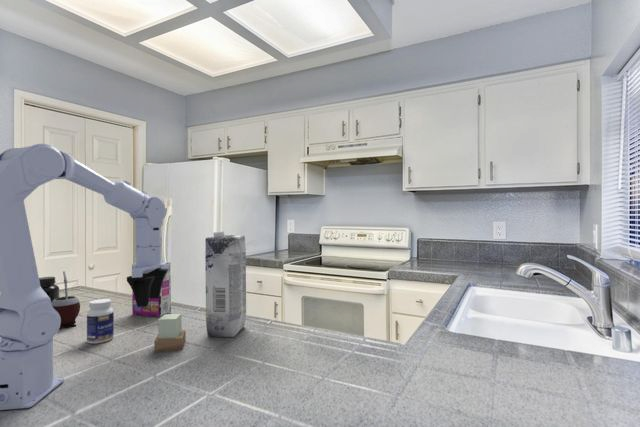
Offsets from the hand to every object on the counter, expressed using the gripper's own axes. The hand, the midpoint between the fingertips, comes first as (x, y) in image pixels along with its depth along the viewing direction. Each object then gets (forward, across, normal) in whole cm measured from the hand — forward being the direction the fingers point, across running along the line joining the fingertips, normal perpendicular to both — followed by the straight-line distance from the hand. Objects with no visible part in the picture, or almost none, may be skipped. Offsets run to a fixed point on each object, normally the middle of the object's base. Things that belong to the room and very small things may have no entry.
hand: (148, 302), depth 83 cm
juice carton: (+10, +6, -18) cm, 22 cm away
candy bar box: (+10, +27, +9) cm, 30 cm away
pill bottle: (+11, +5, +13) cm, 18 cm away
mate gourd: (+11, +19, +30) cm, 37 cm away
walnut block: (+11, -2, -6) cm, 12 cm away
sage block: (+8, -2, -6) cm, 10 cm away
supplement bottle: (+11, +31, +42) cm, 53 cm away
